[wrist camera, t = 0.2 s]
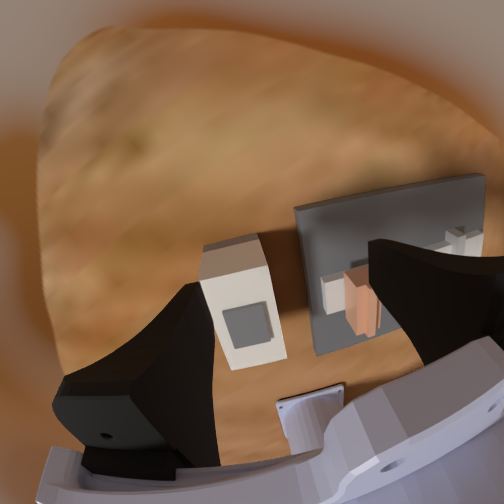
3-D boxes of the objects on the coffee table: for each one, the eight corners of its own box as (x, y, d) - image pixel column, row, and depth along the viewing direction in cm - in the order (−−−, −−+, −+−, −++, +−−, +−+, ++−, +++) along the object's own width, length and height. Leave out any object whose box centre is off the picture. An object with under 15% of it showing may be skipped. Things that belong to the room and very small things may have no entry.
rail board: (465, 290, 26) (480, 303, 23) (313, 347, 26) (322, 369, 23) (477, 173, 20) (497, 179, 17) (293, 207, 20) (304, 218, 17)
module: (274, 313, 24) (288, 361, 18) (228, 324, 24) (231, 373, 18) (256, 232, 21) (268, 267, 15) (203, 245, 21) (197, 284, 15)
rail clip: (367, 310, 22) (383, 332, 19) (345, 317, 22) (359, 340, 19) (367, 264, 20) (386, 283, 17) (343, 271, 20) (360, 292, 17)
